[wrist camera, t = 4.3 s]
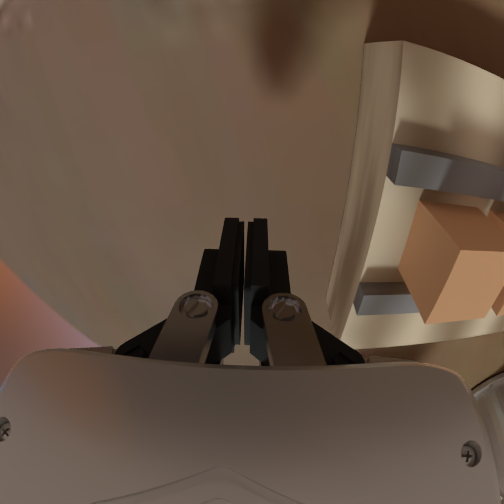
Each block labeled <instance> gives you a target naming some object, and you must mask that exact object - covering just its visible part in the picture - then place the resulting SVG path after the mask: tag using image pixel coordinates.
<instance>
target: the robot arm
mask: <svg viewBox="0 0 504 504" xmlns="http://www.w3.org/2000/svg"><path fill="white" fill-rule="evenodd" d="M243 289H244V344H245V345H250V353H251V354H252V355H253V356H254V357H256V358H257V359H258V360H259V366H241V365H223V358H224V357H226V356H227V355H229V354H230V353H234V345H235V344H238V345H240V337H241V320H242V304H243ZM500 496H501V497H503V499H502V500H501V498H500ZM0 504H504V372H503V373H501V374H498V375H496V376H494V377H492V378H490V379H489V380H487V381H485V382H484V383H482V384H480V385H479V386H477V387H476V388H474V389H473V390H472V391H471V389H470V387H469V386H468V384H467V383H466V381H465V380H464V379H463V378H462V377H461V376H460V375H459V374H457V373H456V372H454V371H452V370H450V369H448V368H445V367H442V366H438V365H434V364H429V363H423V362H420V361H416V360H407V359H398V358H389V357H381V356H373V355H369V357H368V358H365V357H362V355H361V354H359V353H358V352H357V351H356V350H354V349H353V348H351V347H350V346H348V345H347V344H345V343H344V342H342V341H341V340H339V339H338V338H336V337H335V336H333V335H332V334H330V333H329V332H327V331H326V330H324V329H323V328H321V327H320V326H318V325H317V324H315V323H314V322H312V321H311V318H310V315H309V312H308V310H307V307H306V305H305V303H304V301H303V300H301V299H300V298H299V297H297V296H295V295H293V294H291V292H290V282H289V273H288V264H287V255H286V251H271V250H268V228H267V219H261V218H254V222H248V232H247V248H246V263H245V279H244V222H239V218H225V221H224V226H223V231H222V236H221V241H220V247H219V249H205V250H204V253H203V257H202V261H201V265H200V269H199V273H198V277H197V281H196V285H195V289H194V291H190V292H187V293H185V294H183V295H181V296H180V297H179V298H178V299H177V300H176V302H175V304H174V306H173V308H172V310H171V312H170V314H169V316H168V318H167V319H165V320H164V321H162V322H160V323H158V324H157V325H155V326H153V327H151V328H150V329H148V330H146V331H144V332H143V333H141V334H139V335H137V336H136V337H134V338H132V339H130V340H129V341H127V342H125V343H124V344H122V345H121V346H120V347H119V348H118V349H114V348H113V346H107V347H90V348H70V349H61V348H60V349H46V350H41V351H35V352H32V353H29V354H27V355H25V356H23V357H22V358H20V359H19V360H18V361H17V362H16V363H15V365H14V366H13V367H12V369H11V370H10V372H9V374H8V375H7V377H6V379H5V381H4V382H3V384H2V386H1V388H0Z"/></svg>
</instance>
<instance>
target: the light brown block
mask: <svg viewBox="0 0 504 504" xmlns="http://www.w3.org/2000/svg"><path fill="white" fill-rule="evenodd" d="M487 217H488V218H489V219H490V220H491V221H492V222H493V223H494V224H495V225H496V226H497V227H498V228H499V229H500V230H501V232H502V233H503V234H504V212H503V211H497V210H491V209H489V212H488V215H487ZM491 308H492V309H493V311H494V313H495V314H496V316H500V315H504V286H503V288H502V290H501V291H500V293H499V295H498V297H497V298H496V300H495V302H494V303H493V305H492V307H491Z"/></svg>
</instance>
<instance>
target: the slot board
mask: <svg viewBox="0 0 504 504" xmlns="http://www.w3.org/2000/svg"><path fill="white" fill-rule="evenodd" d="M419 200H423V201H432V202H440V203H448V204H456V205H463V206H470V207H477V208H479V209H480V210H481V211H482V212H483V213H484V214H485V215H486V216H487V215H488V212H489V209H491V210H497V211H503V212H504V79H502V78H500V77H498V76H496V75H494V74H492V73H490V72H488V71H486V70H483V69H481V68H479V67H477V66H474V65H472V64H470V63H467V62H465V61H463V60H460V59H458V58H455V57H452V56H450V55H447V54H444V53H442V52H439V51H436V50H433V49H430V48H427V47H424V46H421V45H417V44H414V43H411V42H407V41H404V40H403V41H386V42H374V43H364V51H363V67H362V80H361V91H360V102H359V111H358V120H357V129H356V137H355V145H354V152H353V159H352V166H351V173H350V179H349V185H348V191H347V197H346V203H345V209H344V214H343V220H342V225H341V230H340V236H339V241H338V246H337V251H336V255H335V260H334V265H333V269H332V274H331V278H330V283H329V287H328V291H327V296H326V301H327V305H328V310H329V315H330V320H331V324H332V329H333V334H334V336H335V337H336V338H338V339H339V340H341V341H342V342H344V343H345V344H347V345H348V346H350V347H351V348H353V349H367V348H381V347H393V346H404V345H414V344H423V343H431V342H439V341H446V340H454V339H460V338H467V337H473V336H479V335H485V334H490V333H495V332H501V331H504V315H500V316H496V314H495V313H494V311H493V309H492V308H490V310H489V312H488V313H487V315H486V316H485V318H479V319H471V320H463V321H454V322H444V323H434V324H424V322H423V319H422V317H421V315H420V313H419V311H418V308H417V306H416V304H415V302H414V300H413V298H412V296H411V294H410V292H409V290H408V288H407V285H406V283H405V281H404V279H403V277H402V276H401V274H400V272H399V270H398V265H399V263H400V260H401V257H402V254H403V251H404V248H405V245H406V242H407V239H408V235H409V232H410V229H411V226H412V222H413V219H414V216H415V212H416V209H417V205H418V201H419Z"/></svg>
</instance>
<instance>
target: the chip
mask: <svg viewBox="0 0 504 504" xmlns="http://www.w3.org/2000/svg"><path fill="white" fill-rule="evenodd" d="M398 270H399V272H400V274H401V276H402V277H403V279H404V281H405V283H406V285H407V288H408V290H409V292H410V294H411V296H412V298H413V300H414V302H415V304H416V306H417V308H418V311H419V313H420V315H421V317H422V319H423V322H424V324H434V323H444V322H454V321H463V320H471V319H479V318H485V316H486V315H487V313H488V312H489V310H490V308H491V307H492V305H493V303H494V302H495V300H496V298H497V297H498V295H499V293H500V291H501V290H502V288H503V286H504V234H503V233H502V232H501V230H500V229H499V228H498V227H497V226H496V225H495V224H494V223H493V222H492V221H491V220H490V219H489V218H488V217H487V216H486V215H485V214H484V213H483V212H482V211H481V210H480V209H479V208H477V207H470V206H463V205H456V204H448V203H440V202H432V201H423V200H419V201H418V205H417V209H416V212H415V216H414V219H413V222H412V226H411V229H410V232H409V235H408V239H407V242H406V245H405V248H404V251H403V254H402V257H401V260H400V263H399V265H398Z"/></svg>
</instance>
